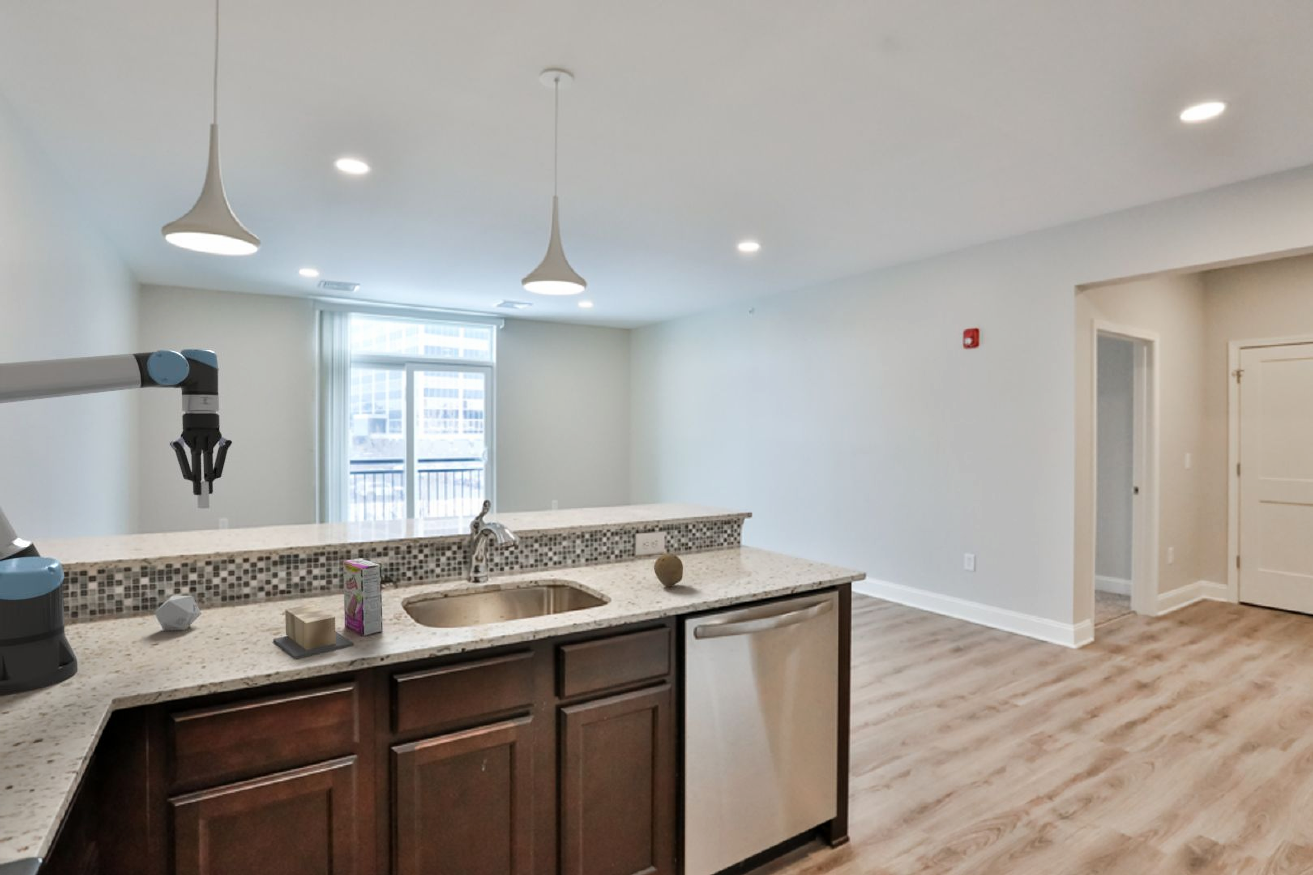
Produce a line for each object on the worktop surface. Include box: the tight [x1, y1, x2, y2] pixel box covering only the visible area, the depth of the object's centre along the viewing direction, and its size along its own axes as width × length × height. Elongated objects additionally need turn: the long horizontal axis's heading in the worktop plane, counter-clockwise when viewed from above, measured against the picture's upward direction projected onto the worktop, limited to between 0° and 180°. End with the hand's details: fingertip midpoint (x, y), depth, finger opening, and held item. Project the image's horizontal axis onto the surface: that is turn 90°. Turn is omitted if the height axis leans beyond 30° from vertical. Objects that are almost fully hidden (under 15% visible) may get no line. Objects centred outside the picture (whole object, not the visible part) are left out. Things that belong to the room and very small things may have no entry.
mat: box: [272, 630, 355, 660], centre depth 149 cm, size 12×16×1 cm
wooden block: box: [284, 603, 336, 650], centre depth 151 cm, size 6×6×15 cm
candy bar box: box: [342, 557, 384, 637], centre depth 159 cm, size 11×5×16 cm, turn 47°
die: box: [153, 595, 202, 632], centre depth 161 cm, size 8×9×10 cm
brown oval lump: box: [653, 552, 684, 588], centre depth 198 cm, size 9×9×10 cm
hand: (203, 507), depth 163 cm, fingers closed
